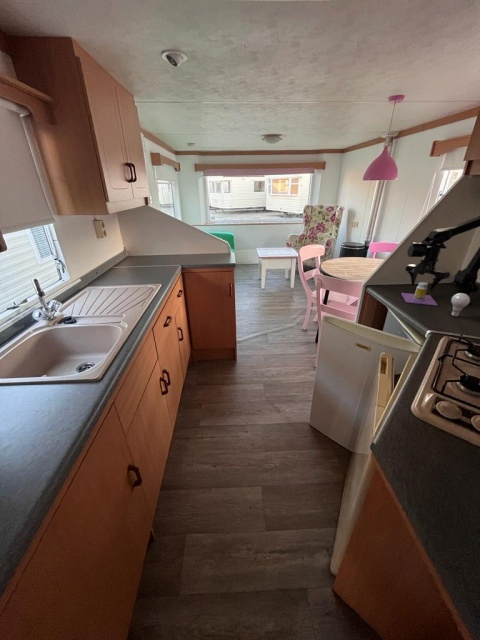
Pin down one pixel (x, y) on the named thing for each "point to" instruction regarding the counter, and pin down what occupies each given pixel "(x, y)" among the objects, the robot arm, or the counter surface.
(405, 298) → the cloth
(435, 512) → the counter surface
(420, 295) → the supplement bottle
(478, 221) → the robot arm
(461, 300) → the lightbulb
